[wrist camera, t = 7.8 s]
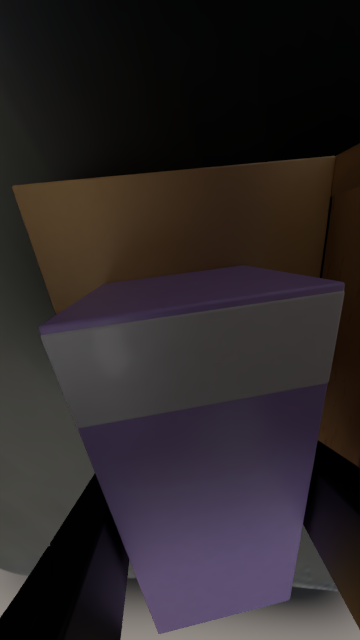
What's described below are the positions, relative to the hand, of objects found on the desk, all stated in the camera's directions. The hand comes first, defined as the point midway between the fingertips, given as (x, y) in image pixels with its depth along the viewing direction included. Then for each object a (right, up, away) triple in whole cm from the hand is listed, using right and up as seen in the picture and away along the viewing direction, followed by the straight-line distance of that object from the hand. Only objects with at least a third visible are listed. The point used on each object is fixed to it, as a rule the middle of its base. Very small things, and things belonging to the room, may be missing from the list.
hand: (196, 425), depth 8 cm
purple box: (0, 0, +1) cm, 1 cm away
